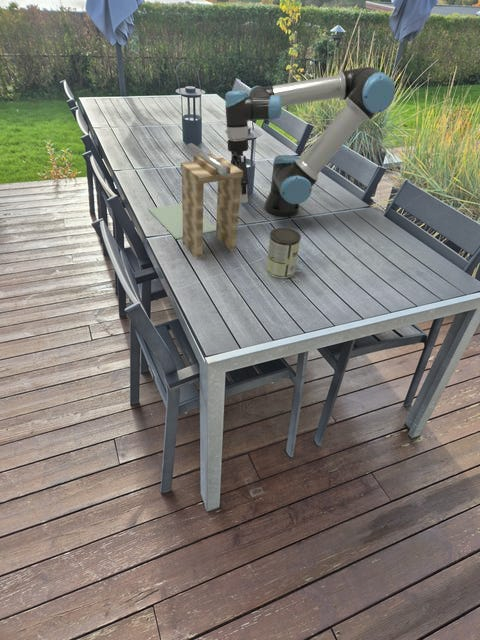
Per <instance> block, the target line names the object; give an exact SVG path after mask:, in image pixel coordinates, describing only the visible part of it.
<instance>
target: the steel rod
mask: <svg viewBox="0 0 480 640" xmlns="http://www.w3.org/2000/svg"><path fill="white" fill-rule="evenodd" d="M186 151H187V152H188V153H190V154H191V155H193V156H194V155H198V156H199V157H201V158H202V159H204V160H205V161H206V162H208V163H209V164H211V165H212V166H213V167H215V168H216V169H217V172H218V173H219V174H220V175H222V176H224V175H226V174H227V172H228V168H227V167H226V166H224V165H223V164H221V163H220V162H219V161H217V160H216V159H214V158H213V157H211V156H210V155H208V153H207V152H205V151H204V150H202V149H201V148H199V147H198V146H196V145H195V144H194V143H192V142H189V143H188V144H187V145H186Z"/></svg>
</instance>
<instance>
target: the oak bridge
mask: <svg viewBox="0 0 480 640" xmlns="http://www.w3.org/2000/svg"><path fill="white" fill-rule="evenodd" d="M207 154H208V155H210V156H211V157H213V158H214V159H216V160H217V161H219V162H220V163H221V164H223V165H224V166H226V167H227V168H228V172H227V174H226V175H224V176H222V175H220V174H219V173H218V172H217V169H216V168H215V167H213V166H212V165H211V164H209V163H208V162H206V161H205V160H204V159H202V158H201V157H199V156H198V155H193V161H192V160H191V161H185V162H180V170H181V186H182V187H181V195H182V198H181V199H182V201H181V203H182V210H183V239H182V245H183V244H184V245H185V246H186V247H187V248H186V247H185V246H184V245H183V246H184V247H185V248H186V249H187V250H188V252H190V253H191V255H192V256H194V257H195V259H196V260H200V258H201V259H203V242H204V241H203V239H204V238H203V237H204V234H203V217H204V190H205V189H204V185H205V184H208V183H215V182H217V196H216V197H217V201H216V224H215V225H216V226H215V228H216V232H215V238H216V237H217V238H216V239H217V240H218V241H220V242H221V244H223V245H224V246H225V247H226V248H227V249H228V250H229V251H230V252H234V251H236V250H237V241H238V227H239V226H238V224H239V212H240V211H239V210H240V187H241V178H242V177H243V171H242V170H240V169H239V168H237V167H236V166H234V165H233V164H231V161H229V160H227V159H225V158H224V157H217V156H215V155H213V154H212V153H210V152H209V153H207Z"/></svg>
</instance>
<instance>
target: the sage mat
mask: <svg viewBox="0 0 480 640" xmlns="http://www.w3.org/2000/svg"><path fill="white" fill-rule="evenodd" d="M148 211H149V213H150V214H151V215H152V216H153V217H154V218H155V219H156V220H157V222H158V223H160V224H161V226H162V227H163V228H165V230H166V229H167V230H168V231H169V232H170V233H171V234H170V233H169V232H168V231H167V230H166V231H167V232H168V233H169V234H170V236H172V237H173V238H174V239H175V240H176V239H178V240H181V239H180V238H183V210H182V202H180V203H176V204H175V203H173V204H168V205H162V206H157V207H151V208H148ZM214 231H216V226H214V225H213V224H212V223H211V222H210V221H209V220H208V219H206V218H205V217H204V216H203V235H205V234H204V233H206V234H211V233H215V232H214ZM210 232H211V233H210Z"/></svg>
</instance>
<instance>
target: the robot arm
mask: <svg viewBox="0 0 480 640" xmlns="http://www.w3.org/2000/svg"><path fill="white" fill-rule="evenodd" d="M395 92H396V87H395V83H394V81H393V79H392V78H391V77H389V75H388V74H386V73H385V72H382V71H379V70H378V69H376V68H375V67H372V66H371V67H370V66H364V67H363V66H362V67H357V68H353V69H348V70H342V71H339V72H338V74H337V75H330V76H324V77H319V78H313V79H311V78H310V79H306V80H300V81H293V82H288V83H282V84H275V85H269V86H261V85H255V86H253V87H252V88H250V89H249V91H248V92H247V91H246V90H231V91H227V92H226V93H225V120H226V130H225V133H226V136H227V139H228V140H227V141H226V142H227V151H228V152H230V153H231V154H230V155H231V158H230V159H231V161H230V163H231V164H233V165H234V166H236V167H237V168H239V169H240V170H242V171H243V177H242V178H241V187H240V201H239V204H244V203H248V202H249V201H248V185H249V184H250V181H249V176H248V169H247V168H248V167H247V156H246V155H244V152H246V151H248V150H249V140H248V138H249V126H248V123H249V121H261V120H263V121H264V120H265V121H266V120H267V121H269V120H270V121H271V120H277V119H279V118H280V117H281V115H282V107H288V106H294V105H300V104H307V103H314V102H319V101H326V100H331V99H339V100H340V101H343V100H346V104H345V106H344V107H343V108H342V109H341V111H340V112H339V113H338V114H337V115H336V117H335V118H334V119H333V120H332V121H331V123H330V124H329V125H328V127H327V128H325V130H324V131H323V132H322V133H321V135H320V136H319V137H318V138H317V139H316V141H315V142H314V143H313V145H312V146H311V147H310V148H309V149H308V150H307V152H306V153H305V154H304V155H303V156H302V158H301V157H300V156H296V155H293V154H292V155H291V154H280V155H277V156H275V157H274V159H273V164H272V166H273V167H272V177H271V184H270V190H269V193H268V196H267V197H266V200H265V203H264V210H265V211H266V212H267V213H269V214H271V215H274V216H279V217H292V216H296V215H297V214H298V213H299V211H300V204H302V203H305V202H306V201H307V200H308V199H309V198H310V196H311V194H312V191H313V186H315V184H316V182H318V180H319V177H318V175H319V173H320V172H321V171H322V170H323V169H324V168H325V166H326V165H327V164H328V163H329V161H330V160H331V159H332V158H333V157H334V156H335V155H336V153H338V151H339V150H340V149H341V148H342V147H343V146H344V144H345V143H346V142H347V141H348V140H349V139H350V137H351V136H352V135H353V134H354V132H355V131H357V129H358V128H359V127H360V126H361V125H362V124H363V123H364V122H367V121H371V120H372V119H373V117H374V116H375V115H376V114H378V113H382V112H384V111H385V110H387V109H388V108H389V107H390V106H391V105H392V103H393V101H394V99H395V96H396V95H395V94H396V93H395ZM247 93H248V94H247Z"/></svg>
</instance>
